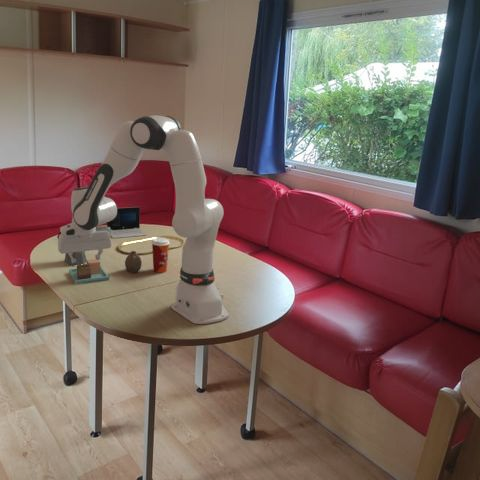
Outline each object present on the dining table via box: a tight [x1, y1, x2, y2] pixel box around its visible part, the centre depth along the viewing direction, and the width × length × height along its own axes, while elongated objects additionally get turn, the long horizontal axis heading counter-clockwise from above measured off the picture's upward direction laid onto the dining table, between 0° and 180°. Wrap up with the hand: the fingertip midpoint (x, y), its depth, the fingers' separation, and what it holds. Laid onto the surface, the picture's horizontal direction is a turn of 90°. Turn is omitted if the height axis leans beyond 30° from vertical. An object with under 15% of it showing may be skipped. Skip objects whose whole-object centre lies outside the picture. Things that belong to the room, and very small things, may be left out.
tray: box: [68, 265, 110, 285], centre depth 197 cm, size 13×13×2 cm
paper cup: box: [151, 238, 171, 274], centre depth 206 cm, size 8×8×14 cm
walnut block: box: [76, 263, 91, 280], centre depth 193 cm, size 4×4×5 cm
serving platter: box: [117, 235, 185, 256], centre depth 239 cm, size 19×35×2 cm, turn 134°
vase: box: [124, 250, 143, 274], centre depth 204 cm, size 7×7×9 cm
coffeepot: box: [57, 231, 88, 266], centre depth 208 cm, size 15×9×18 cm, turn 150°
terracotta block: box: [86, 258, 101, 275], centre depth 199 cm, size 4×4×5 cm
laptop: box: [106, 206, 147, 239], centre depth 254 cm, size 18×12×13 cm
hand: (85, 260), depth 192 cm, fingers open, 8 cm apart
